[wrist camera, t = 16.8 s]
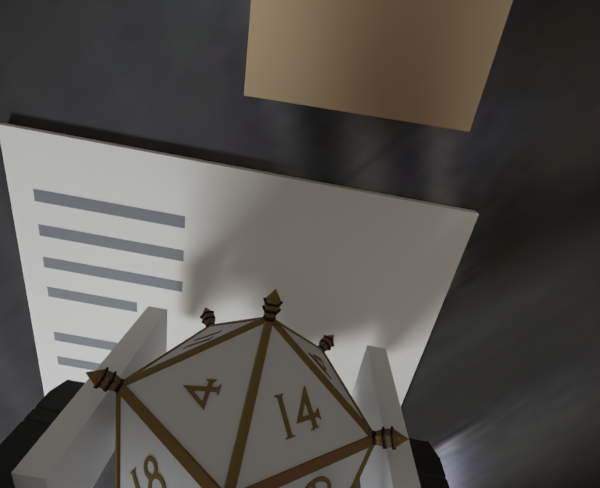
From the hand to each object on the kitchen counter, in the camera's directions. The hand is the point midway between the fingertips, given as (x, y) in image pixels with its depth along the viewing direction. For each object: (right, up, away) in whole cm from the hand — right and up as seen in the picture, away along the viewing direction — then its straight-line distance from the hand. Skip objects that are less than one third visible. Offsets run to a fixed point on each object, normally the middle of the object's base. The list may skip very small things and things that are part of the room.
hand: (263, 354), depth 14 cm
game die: (0, 0, 0) cm, 0 cm away
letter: (-2, +1, +2) cm, 3 cm away
